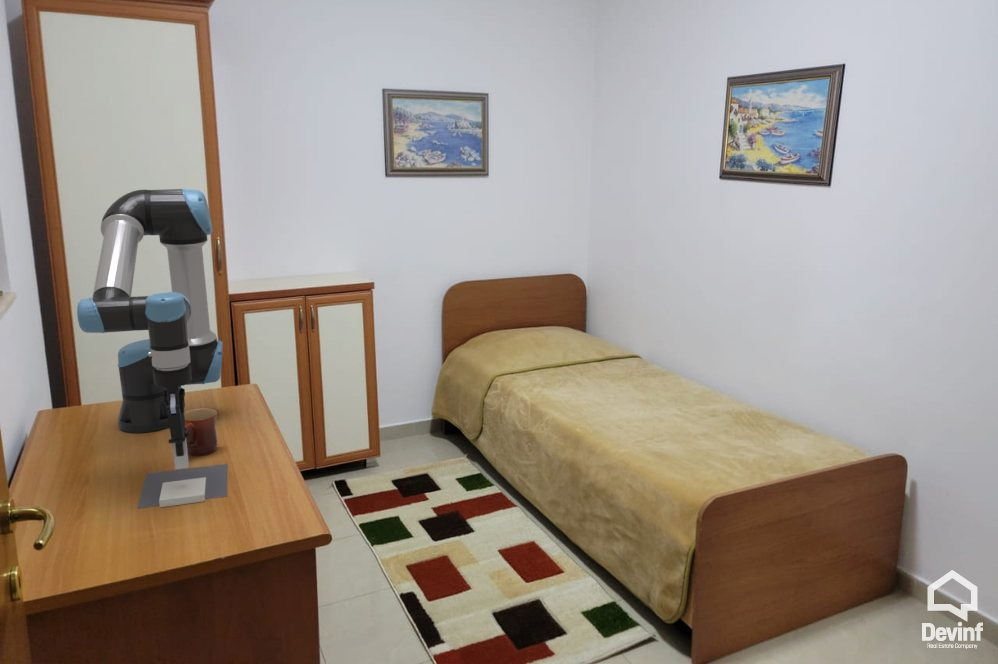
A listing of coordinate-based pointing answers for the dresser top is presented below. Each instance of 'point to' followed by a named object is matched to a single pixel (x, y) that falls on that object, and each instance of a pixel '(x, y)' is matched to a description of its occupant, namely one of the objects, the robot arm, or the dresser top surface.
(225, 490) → the mat
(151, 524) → the dresser top surface
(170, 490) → the tile
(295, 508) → the dresser top surface
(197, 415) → the mug
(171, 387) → the robot arm
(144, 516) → the dresser top surface
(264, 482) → the dresser top surface
